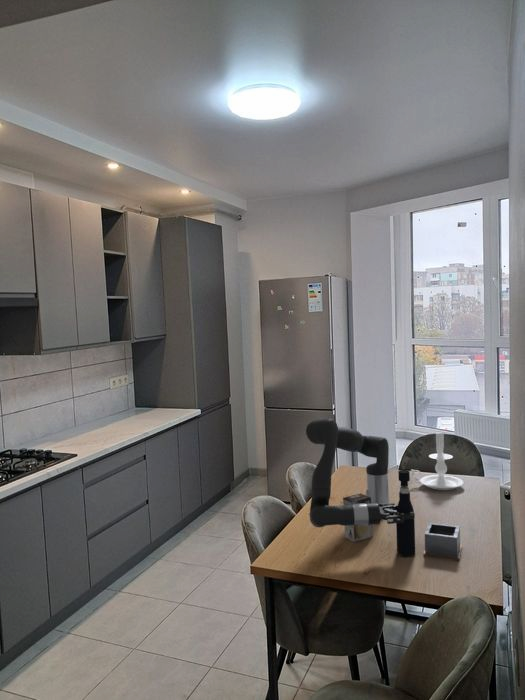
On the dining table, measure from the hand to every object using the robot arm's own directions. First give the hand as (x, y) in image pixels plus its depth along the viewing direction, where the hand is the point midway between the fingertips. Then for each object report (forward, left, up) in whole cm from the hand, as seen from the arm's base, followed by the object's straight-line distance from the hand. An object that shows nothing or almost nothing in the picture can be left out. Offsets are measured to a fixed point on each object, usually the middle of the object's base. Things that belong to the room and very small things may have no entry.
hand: (411, 511), depth 193 cm
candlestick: (-1, +78, -16) cm, 79 cm away
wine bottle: (-2, -1, -15) cm, 15 cm away
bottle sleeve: (+10, +5, -15) cm, 19 cm away
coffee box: (-22, +8, -16) cm, 28 cm away
